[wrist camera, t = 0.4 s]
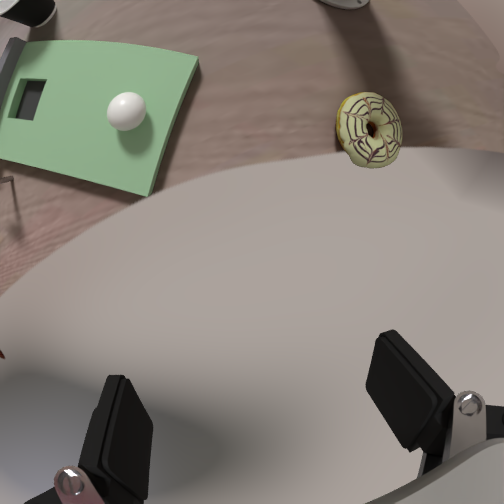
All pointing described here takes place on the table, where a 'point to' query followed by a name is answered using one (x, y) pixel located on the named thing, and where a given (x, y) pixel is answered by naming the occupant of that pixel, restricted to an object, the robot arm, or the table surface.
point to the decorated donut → (356, 135)
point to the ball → (126, 111)
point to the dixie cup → (28, 11)
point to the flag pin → (6, 179)
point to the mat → (89, 108)
